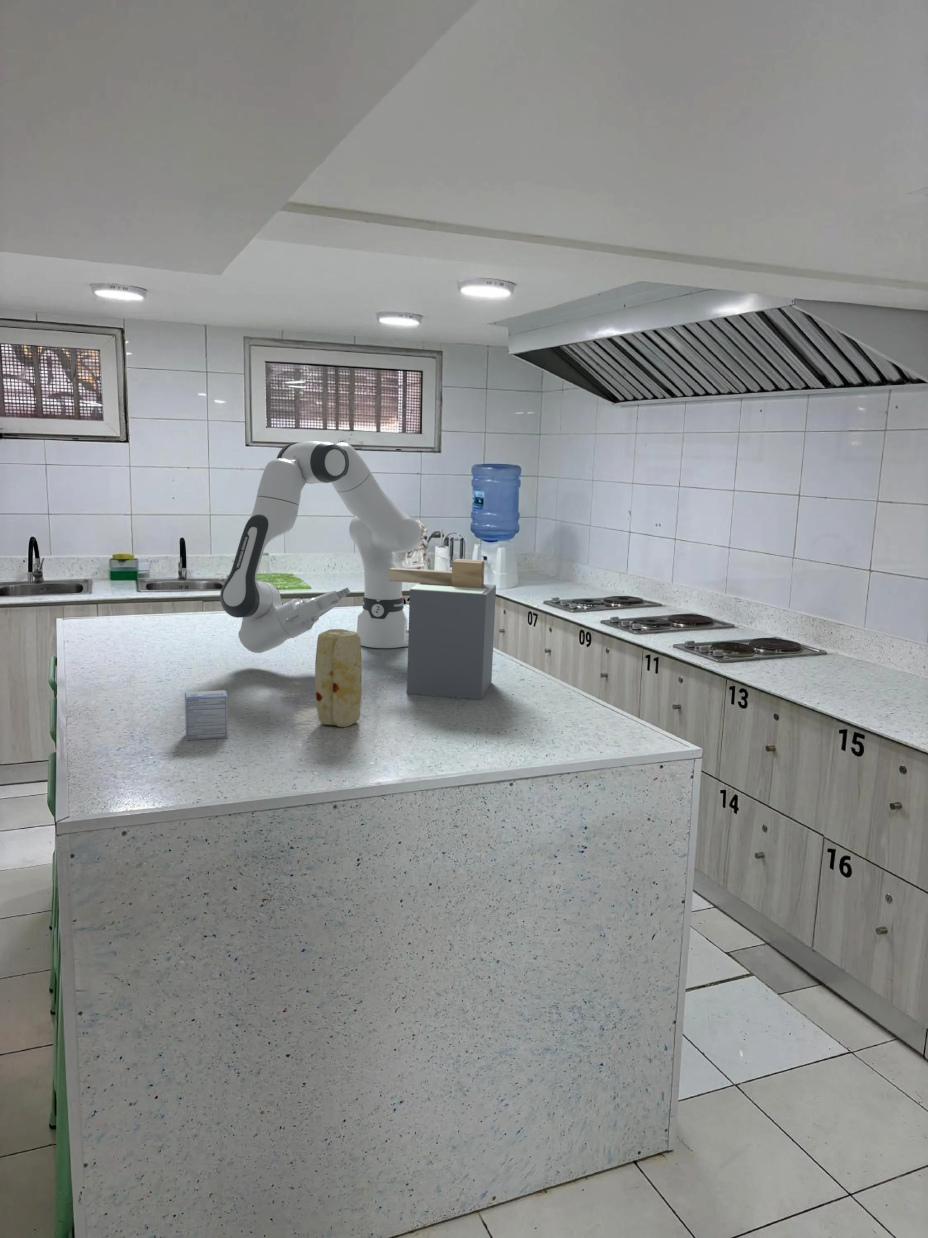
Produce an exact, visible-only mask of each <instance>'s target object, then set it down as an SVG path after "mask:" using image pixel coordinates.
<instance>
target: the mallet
mask: <svg viewBox="0 0 928 1238" xmlns="http://www.w3.org/2000/svg"><path fill="white" fill-rule="evenodd" d="M485 561H486V560H483V559H481V560H480V559H468V558H467V559H462V558H456V559H454V560H453V561H452V562H451V570H450V571H449V570H437V569H436V570H435V569H417V568H405V567H404V568H403V567H400V568H391V569H389V581H394V582H402V583H412V584H420V583H425V584H441V585H451V586H458V587H473V588H480V587H482V586H483V585H484V584H485V581H484V580H485Z"/></svg>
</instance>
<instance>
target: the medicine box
mask: <svg viewBox="0 0 928 1238" xmlns="http://www.w3.org/2000/svg"><path fill="white" fill-rule="evenodd" d="M228 709H229V708H228V693H227V691H226V690H224V689H223V690H222V689H221V690H202V691H185V693H184V719H185V720H184V721H185V740H186V741H194V740H196V741H197V740H206V739H208V740H211V739H225V738H227V739H228V738H229V723H228V717H229V715H228V714H229V713H228Z"/></svg>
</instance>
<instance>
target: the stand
mask: <svg viewBox="0 0 928 1238" xmlns="http://www.w3.org/2000/svg"><path fill="white" fill-rule="evenodd" d="M496 592H497V584H491V583H490V584H487V583H484V585H483V586H482V587H480V588H473V587H458V586H451V585H441V584H425V583H416V584H415V585H413V586H412V587H410V588H409V602H408V604H409V608H408V610H409V611H408V629H409V634H408V646H407V667H406V668H407V671H406V673H407V674H406V675H407V676H406V694H407V693H410V694H409V695H419V694H420V695H421V696H430V695H435V696H434V697H442V696H444V697H443V698H454V697H460V698H459V699H465V698H470V699H469V700H477V699H478V700H479V701H481V700H483V698H484V696H485V695H486V693H487V691H488V689H489V688H488V687H490V686H491V685H492V677H493V659H494V657H493V656H494V639H495V638H494V637H495V636H494V635H495V620H496V619H495V615H496ZM484 694H485V695H484ZM420 695H419V696H420Z"/></svg>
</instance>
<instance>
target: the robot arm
mask: <svg viewBox="0 0 928 1238" xmlns="http://www.w3.org/2000/svg"><path fill="white" fill-rule="evenodd" d="M263 470H264V471H263V472H262V475H261V478H260V482H259V484H258V485H259V486H258V489H257V493H256V498H255V502H254V506H253V510H252V511H251V515H250V517H249V519H248V520H247V522H246V523H245V526H244V529H243V532H242V534H241V537H240V540H239V544H238V547H237V550H236V554H235V557H234V559H233V560H234V561H233V563H232V567H231V570H230V571H229V572H230V573H229V575H228V576H227V578H226V580H225V581H224V582H223V585H222V587H221V589H220V593H219V597H220V604H221V607H222V608H223V610H224V612H225V613H226V614H227V615H229V616H231V617H233V618H238V619H239V618H242V619H241V620H242V621H241V626H240V629H239V631H238V633H237V635H238V639H239V641H240V643H241V644H242V645H243V647H244V648H246V649H247V650H248V651H250V652H251V653H254V654H261V653H264V652H268V651H270V650H272V649H274V648H277V647H279V646H281V645H283V644H284V643H285V642H286V641H287V640H289V639H294V638H297V637H298V636H300V635H303V634H304V633H307V632H308V631H310V630H312V628H313V626H314V624H315V623H317V622H318V621H319V620H320V618H321V617H322V616H323V615H324V614H326V613H328V612H329V611H331V610H332V609H334V608H335V607H337V606H338V605H339V604H340V603H341V602H342V599H343V598H344V597H346V596H348V595H350V594H351V590H350V589H349V587H345V588H343V589H340V590H339V591H337V590H332V591H331V590H330V591H329V592H326V593H323V594H321V595H318V596H315V597H311V598H304V599H300V598H299V599H298V598H293V599H290V600H289V601H287V602H286V603H284V602H283V599H282V595H281V593H280V590H279V589H278V587H276V586H275V585H274V584H272V583H271V582H268V581H267V582H265V581H262V580H257V579H258V578H257V576H258V572H259V569H260V565H261V561H262V558H263V554H264V551H265V549H266V547H267V545H268V544H269V543H270V542H271V541H272V540H274V539H276V538H279V537H281V536H283V535H286V534H287V533H288V532H290V531H291V530H292V529H293V528H294V525H295V523H296V521H297V517H298V513H299V509H300V502H301V498H302V497H301V495H302V490H303V488H304V486H305V485H306V484H308V485H309V484H320V483H321V484H322V483H323V484H324V483H325V484H329V483H331V484H332V486H333V488H334V489H335V491H336V493H337V494H338V496H339V497H340V499H341V501H342V502H343V503H344V505H345V507H346V508H347V510H348V512H350V514H352V515H354V517H352V519H351V521H350V523H349V527H348V529H349V530H348V531H349V536H350V538H351V540H352V541H353V543H354V544H355V545H356V546H357V548H358V551H359V554H360V557H361V560H362V565H363V571H364V572H363V573H364V595H363V597H362V609H363V610H362V611H361V612H359V614H358V615H357V622H356V633H358V634H359V635H360V641H361V647H367V648H375V649H396V648H402V647H403V648H405V647H406V648H408V634H409V628H408V625H409V619H408V618H407V615H406V613H405V611H404V607H405V606H404V605H405V603H404V600H405V599H404V596H403V582H394V581H389V569H391V568H401V567H400V566H399V565H398V564H397V562H396V561H395V560H396V559H395V557H394V555H393V553H399V554H400V553H406V552H407V553H408V552H412V551H413V550H415V549H416V548H417V547H418V546H419V544H420V542H421V540H422V529H421V526H420V523H418V521H417V520H416V519H413V518H412V517H410V516H409V515H408V514H407V513H406V512H404V511H403V509H402V510H401V508H400V507H399V506H398V505H397V504H396V503H395V502H393V500H392V499H391V498H390V497H389V496H388V495H387V494H386V493H385V492H384V490H383V489H382V487H381V486H380V484H379V482H378V481H377V480H376V478H375V476H374V474H373V472H371V470H370V468H369V466H368V465H367V463H366V462H365V461H364V459H363V457H361V455H360V454H359V453H358V452H357V450H356V449H355V448H354V447H353V446H352V445H351V444H349V443H348V442H337V443H333V442H329V441H313V440H312V441H311V440H310V441H309V440H308V441H304V442H303V441H301V442H292V443H289V444H287V445H285V446H283V447H282V448H281V449H280V451H279V452H278V454H277V456H276V458H274V459H272V460H269V462H268V463H267V464H266V465H265V467H264V469H263Z"/></svg>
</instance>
